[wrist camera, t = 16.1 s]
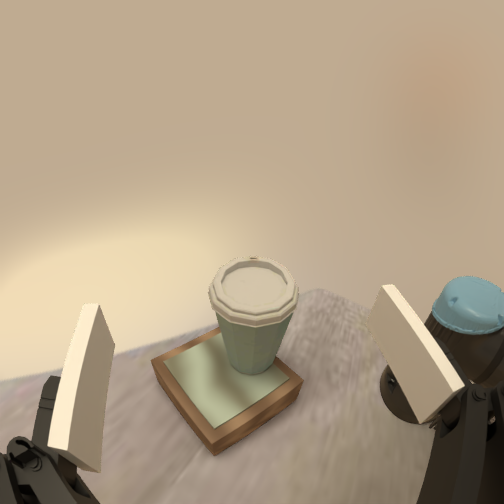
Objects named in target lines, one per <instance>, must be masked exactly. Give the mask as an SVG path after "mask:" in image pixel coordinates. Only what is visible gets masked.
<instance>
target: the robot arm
mask: <svg viewBox="0 0 504 504" xmlns="http://www.w3.org/2000/svg"><path fill="white" fill-rule="evenodd" d="M365 325H366V326H367V328H368V330H369V331H370V333H371V335H372V337H373V338H374V340H375V342H376V343H377V345H378V347H379V349H380V350H381V352H382V354H383V356H384V358H385V359H386V361H387V363H388V365H387V367H386V368H385V370H384V371H383V373H382V376H381V380H380V390H381V394H382V397H383V400H384V402H385V404H386V405H387V407H388V408H389V409H390V410H391V411H392V412H393V413H394V414H395V415H396V416H398V417H399V418H401V419H403V420H405V421H407V422H411V423H417V424H421V423H427V422H430V421H432V420H434V419H435V420H434V421H433V422H432V423H431V424H430V427H429V428H432V427H433V426H434V425H435V424H437V425H436V426H435V427H434V430H436V431H435V436H434V441H433V446H432V451H431V455H430V459H429V463H428V467H427V471H426V475H425V478H424V482H423V485H422V488H421V492H420V495H419V498H418V501H417V504H504V293H503V292H501V289H500V288H499V287H498V286H496V285H494V284H493V283H491V282H489V281H487V280H484V279H482V278H478V277H473V276H465V277H457V278H455V279H453V280H451V281H450V282H449V283H448V284H447V285H446V286H445V287H444V289H443V291H442V293H441V295H440V296H439V298H438V299H437V300H436V301H435V302H434V304H433V307H432V311H431V313H430V315H429V317H428V318H427V320H426V322H425V323H424V324H423V323H422V322H421V320H420V319H419V318H418V316H417V315H416V313H415V312H414V311H413V309H412V308H411V307H410V305H409V304H408V303H407V301H406V300H405V299H404V297H403V296H402V295H401V294H400V292H399V291H398V290H397V288H396V287H395V286H394V285H393V284H390V285H383V286H381V288H380V291H379V293H378V296H377V298H376V301H375V303H374V306H373V308H372V310H371V313H370V315H369V317H368V319H367V322H366V324H365ZM114 348H115V343H114V341H113V339H112V336H111V334H110V331H109V329H108V326H107V324H106V321H105V319H104V316H103V313H102V310H101V308H100V305H99V304H84V305H83V308H82V311H81V313H80V316H79V319H78V322H77V325H76V328H75V331H74V334H73V337H72V340H71V344H70V347H69V350H68V354H67V357H66V361H65V365H64V368H63V372H62V375H61V377H57V376H50V377H49V379H48V380H47V381H46V383H45V384H44V386H43V390H42V394H41V399H40V402H39V409H38V411H37V415H36V420H35V425H34V430H33V436H32V440H31V441H30V440H28V439H27V438H25V437H21V436H18V437H15V438H13V439H12V440H11V441H10V442H9V444H8V446H7V454H2V453H0V504H100V503H99V502H98V500H97V499H96V498H95V497H94V495H93V494H92V493H91V491H90V490H89V489H88V487H87V486H86V484H85V483H84V482H83V480H82V479H81V477H80V476H79V475H78V474H77V467H79V468H80V469H82V470H85V471H90V472H96V473H101V454H102V438H103V426H104V416H105V407H106V399H107V391H108V384H109V378H110V371H111V365H112V359H113V353H114ZM469 380H471V381H473V382H474V383H476V384H472V383H471V382H470V381H469ZM439 415H440V416H439ZM438 416H439V417H438ZM494 416H495V420H496V421H495V422H493V423H492V424H491V423H490V419H492V418H493V417H494ZM437 417H438V418H437ZM436 418H437V419H436Z"/></svg>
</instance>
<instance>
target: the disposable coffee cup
mask: <svg viewBox="0 0 504 504" xmlns="http://www.w3.org/2000/svg"><path fill="white" fill-rule="evenodd" d="M298 291H299V288H298V286H297V285H296V282H295V280H294V279H293V277H292V276H291V274H290V272H289V270H288V269H287V268H286V267H284V266H283V265H281V264H279V263H278V262H276V261H275V260H273V259H269V258H263V257H242V258H235V259H233V260H231V261H230V262H228V263H227V264H225V265H224V266H222V267H220V268H219V270H218V272H217V274H216V276H215V277H214V279H213V281H212V283H211V285H210V286H209V292H208V294H209V299H210V302H211V305H212V309H213V310H214V311H215V312H216V316H217V320H218V323H219V327H220V331H221V334H222V338H223V341H224V345H225V348H226V352H227V355H228V358H229V361H230V364H231V365H232V366H233V367H234V368H235V369H236V370H238V371H239V372H240V373H244V374H249V375H254V374H258V373H262V372H264V371H265V370H266V369H267V368H268V367H269V366H270V365H272V363H273V361H274V359H275V356H276V354H277V351H278V349H279V347H280V344H281V342H282V339H283V337H284V334H285V332H286V329H287V327H288V324H289V322H290V319H291V317H292V314H293V312H294V311H295V310H296V309H297V303H298V297H299V293H298Z"/></svg>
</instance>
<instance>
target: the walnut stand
mask: <svg viewBox="0 0 504 504" xmlns="http://www.w3.org/2000/svg"><path fill="white" fill-rule="evenodd" d="M151 363H152V366H153V369H154V371H155V374H156V377H157V380H158V382H159V383H160V385H161V386H162V388H163V389H164V391H165V392H166V394H167V395H168V397H169V398H170V399H171V401H172V402H173V404H174V405H175V407H176V408H177V409H178V411H179V412H180V413H181V415H182V416H183V417H184V419H185V420H186V421H187V423H188V424H189V425H190V427H191V428H192V429H193V431H194V432H195V433H196V434H197V436H198V437H199V438H200V439H201V441H202V442H203V443H204V444H205V446H206V447H207V448H208V449H209V450H210V452H211V453H212V454H213V455H214V456H215V455H217V454H219V453H220V452H222V451H223V450H225V449H227V448H228V447H230V446H231V445H233V444H235V443H236V442H238V441H239V440H241V439H242V438H244V437H245V436H247V435H248V434H250V433H251V432H253V431H254V430H256V429H257V428H258V427H260V426H261V425H263V424H264V423H265V422H267V421H268V420H270V419H271V418H272V417H274V416H275V415H276V414H278V413H279V412H280V411H282V410H283V409H284V408H286V407H287V406H288V405H290V404H291V403H292V402H294V401H295V400H296V399H297V396H298V394H299V391H300V389H301V386H302V384H303V381H304V380H303V379H302V378H300V377H299V376H298V375H297V374H296V373H295V372H293V371H292V370H291V369H290V368H289V367H288V366H287V365H285V364H284V363H283V362H282V361H281V360H280V359H279V358H278V357H276V356H275V359H274V361H273V363H272V365H270V366H269V367H268V368H267V369H266V370H265V371H264V372H262V373H258V374H254V375H249V374H244V373H240V372H239V371H238V370H236V369H235V368H234V367H233V366H232V365H231V364H230V361H229V358H228V355H227V352H226V348H225V345H224V341H223V338H222V334H221V331H220V327H218V328H216V329H214V330H212V331H210V332H208V333H206V334H204V335H202V336H200V337H198V338H196V339H194V340H192V341H190V342H188V343H186V344H184V345H182V346H180V347H177V348H175V349H173V350H171V351H169V352H167V353H165V354H163V355H161V356H158V357H156V358H154V359H152V360H151Z"/></svg>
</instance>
